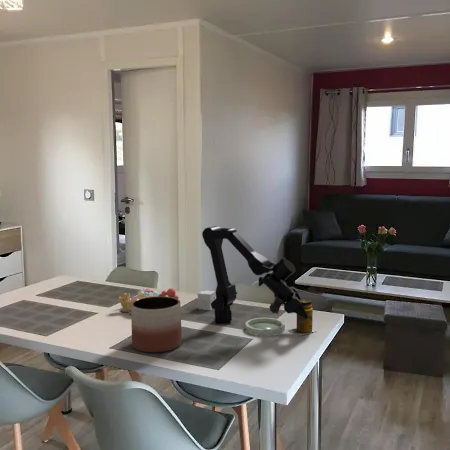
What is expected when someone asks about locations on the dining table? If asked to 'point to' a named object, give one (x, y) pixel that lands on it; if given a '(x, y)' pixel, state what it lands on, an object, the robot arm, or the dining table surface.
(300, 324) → the condiment
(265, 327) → the round tray
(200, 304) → the skincare box
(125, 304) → the candy landscape model
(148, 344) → the planter
